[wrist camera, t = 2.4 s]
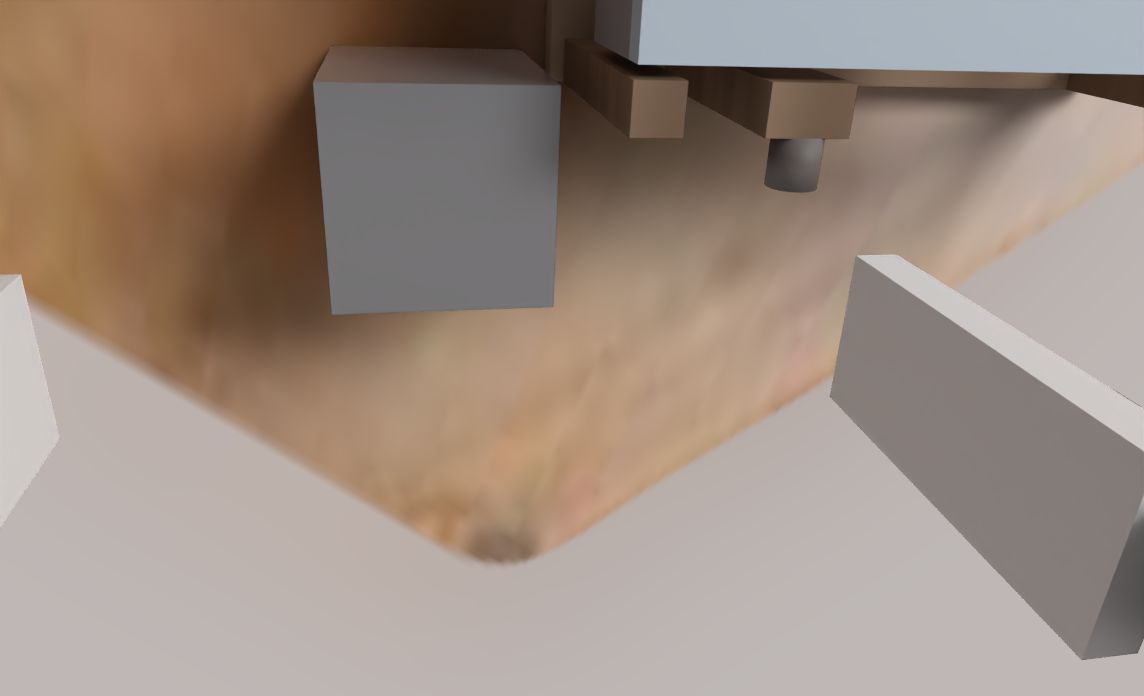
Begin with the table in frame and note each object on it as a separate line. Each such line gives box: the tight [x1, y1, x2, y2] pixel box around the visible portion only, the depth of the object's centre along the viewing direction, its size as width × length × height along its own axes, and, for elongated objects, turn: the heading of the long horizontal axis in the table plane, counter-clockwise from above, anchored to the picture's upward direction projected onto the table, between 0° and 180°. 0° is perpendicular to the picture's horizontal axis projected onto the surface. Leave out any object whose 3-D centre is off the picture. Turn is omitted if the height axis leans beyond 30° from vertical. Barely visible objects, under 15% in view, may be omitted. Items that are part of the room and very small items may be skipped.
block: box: [313, 45, 561, 315], centre depth 24 cm, size 6×6×7 cm
